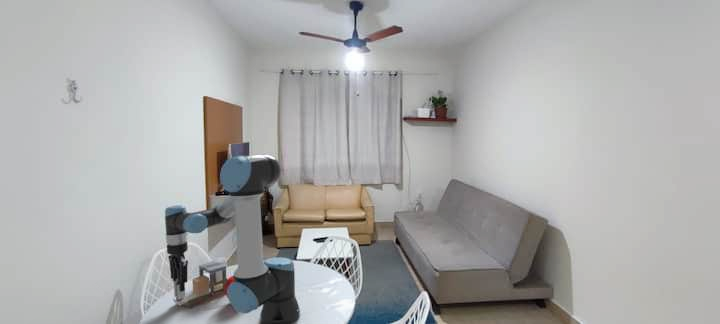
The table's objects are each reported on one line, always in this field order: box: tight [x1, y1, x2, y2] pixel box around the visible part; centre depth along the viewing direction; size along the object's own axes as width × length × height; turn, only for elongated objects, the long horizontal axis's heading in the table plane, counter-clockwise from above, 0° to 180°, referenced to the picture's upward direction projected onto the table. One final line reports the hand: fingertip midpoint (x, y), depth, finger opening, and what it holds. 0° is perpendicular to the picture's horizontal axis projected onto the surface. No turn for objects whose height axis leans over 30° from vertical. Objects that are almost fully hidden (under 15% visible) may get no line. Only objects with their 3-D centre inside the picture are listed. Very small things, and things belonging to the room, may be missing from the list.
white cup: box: [209, 256, 228, 282], centre depth 160 cm, size 8×8×10 cm
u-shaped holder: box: [172, 274, 210, 306], centre depth 138 cm, size 6×14×10 cm, turn 142°
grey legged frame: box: [183, 261, 229, 309], centre depth 144 cm, size 11×22×13 cm, turn 142°
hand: (179, 296), depth 134 cm, fingers closed on u-shaped holder, 3 cm apart
